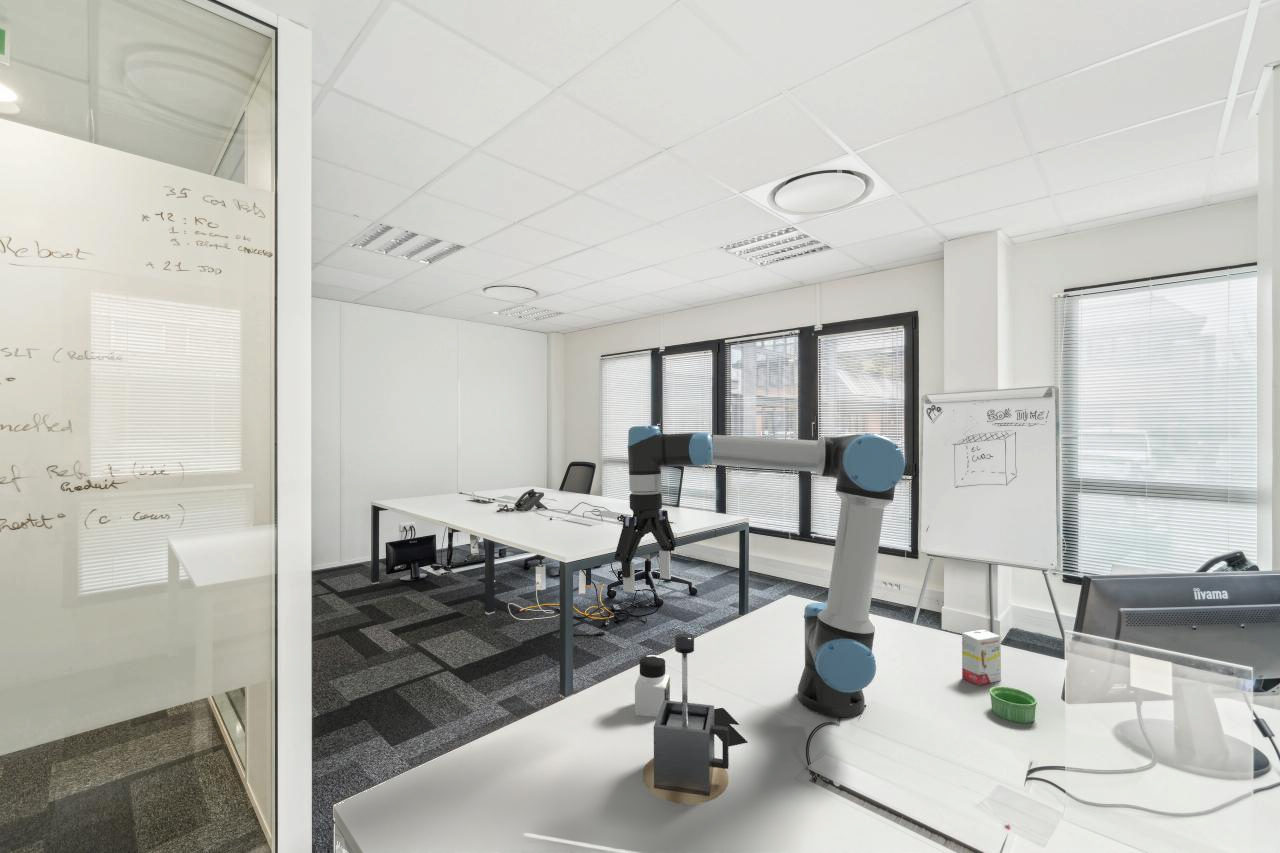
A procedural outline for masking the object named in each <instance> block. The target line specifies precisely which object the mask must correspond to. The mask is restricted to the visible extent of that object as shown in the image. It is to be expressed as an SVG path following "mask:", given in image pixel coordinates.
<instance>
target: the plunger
mask: <svg viewBox="0 0 1280 853" xmlns="http://www.w3.org/2000/svg"><path fill="white" fill-rule="evenodd" d="M674 651H675V652H677V653H679V654H681V699H682V700H681V702H682V715H677V714H670V716H669V719H668V722H667V725H666V726H673V727H682V728H690V729H698V730H703V729H704V724H705V718H704V717H695V716H688V703H689V702H688V701H689V700H688V696H689V695H688V654H691V653H694V652H695V636H694V635H693V634H690V633H678V634H676V635H675V636H674Z"/></svg>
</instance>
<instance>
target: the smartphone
mask: <svg viewBox="0 0 1280 853" xmlns="http://www.w3.org/2000/svg"><path fill="white" fill-rule="evenodd" d="M714 725H715V726H723V727H728V748H729V747H734V746H739V745H743V744H747V743H749V742H748V740H747V739H746V738H744V736H743V735H742V734H740V733H739V732H738V731H737V730H736V729H735V727H733V725H734V726H735V725H736V726H740V723H739V722H738V721H736V719H735V718H733V716H732V715H731V714H730V713H729V712H728V711H727V709H725V708H723V707H719V708H714ZM716 736H717V738H718V739H719V740H720V741H721V742H722V735H716Z"/></svg>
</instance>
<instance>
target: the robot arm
mask: <svg viewBox="0 0 1280 853" xmlns="http://www.w3.org/2000/svg"><path fill="white" fill-rule="evenodd" d="M627 435H628V436H627V437H628V439H627V440H628V441H627V455H628V478H629V480H628V481H629V482H628V483H629V485H628V486H629V491H630V492H631V493H630V494H629V496H628V498H629V509H630V510H631V511H632V516H623V517H622V518H623V520H622V529H621V532H620V535H619V540H618V542H617V546H616V549H615V550H616V551H615V553H614V558H613V559H614V561H617V562H619V563H620V565H621V576H622V581H623V584H622V586H623V588H622V589H623V592H625V593H631V594H634V593H636V585H635V584H636V581H635V577H636V576H635V574H636V573H635V562H634V561H633V558H634V556H635V554H636V553H637V550H638V547H639V545H640V542H641V540H642V538H644V537H645V535H647V534H650V533H651V534H652V535H653V537H654V539H655V541H656V542H657V543H658V545H659V547H660V549H661V550H658V551H659V552H658V553H659V555H658V558H659V578H660V579H665V580H671V579H672V573H671V572H672V570H671V569H672V566H671V563H672V552H675V550H676V549H675V548H676V546H677V541H676V538H675V535H674V532H673V530H672V526H671V524H670V520H669V515H668V510H665V509H662V508H663V496H662V495H663V494H662V492H661V491H662V490H663V488H662V487H663V486H662V485H663V483H662V467H696V468H698V467H701V466H710V465H713V466H729V467H739V468H741V467H743V468H755V469H756V468H757V469H770V470H771V469H772V470H786V471H787V470H788V471H799V472H811V473H812V472H813V473H816V474H817V475H818V477H827V478H833V479H836V484H835V493H836V494H837V495H838V497H839V498H840V501H841V503H840V508H839V509H840V510H839V515H838V516H839V518H838V523H837V529H836V536H835V537H836V538H835V545H834V551H833V552H834V553H833V559H832V565H831V566H832V567H831V572H830V573H831V574H830V581H829V586H828V594H827V601H826V602H812V603H809V604H807V605H805V606H804V613H803V619H804V668H803V671H802V673H801V674H802V675H801V678H800V679H799V683H798V686H797V700H798V701H799V704H801V705H802V706H803V707H805V709H807V710H809V711H812V712H814V713H816V714H818V715H822V716H827V717H833V718H851V717H854V716H858V715H860V714H862V713H863V712H864V710H865V708H864V706H865V701H866V700H865V695H864V692H863V689H865V688H867V687H868V686H869V685H870V684H871V683H872V682H873V680H874V678H875V676H876V672H877V664H876V659H875V655H874V653H873V644H874V638H875V632H876V628H875V625H874V624H873V623H872V622H871V620H870V610H871V603H872V596H873V589H874V582H875V576H876V575H875V574H876V570H877V569H876V568H877V562H878V560H877V559H878V554H879V548H880V547H879V546H880V540H881V532H882V527H883V526H882V525H883V519H884V514H885V513H884V511H885V508H886V507H887V506H888V505H890V504H891V503H893V502H894V498H895V490H896V486H897V484H898V483H899V482H900V481H901V479H902V477H903V475H904V473H905V468H906V467H905V466H906V462H905V457H904V454H903V451H902V450H901V448H900V447H899V446H898V444H897V443H895V442H894V441H893V440H892V439H890V438H889V437H886V436H883V435H881V434H877V433H861V434H860V433H859V434H851V435H845V436H821V437H819V438H818V439H817V440H812V439H810V440H809V439H795V438H794V439H793V438H780V437H779V438H773V437H756V436H740V435H739V436H738V435H723V434H721V435H719V434H710V433H709V432H688V433H687V432H683V433H662V431H661V428H660V427H659V425H640V426H639V425H637V426H631V427H630V428H629V429H628V434H627Z"/></svg>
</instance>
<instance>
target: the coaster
mask: <svg viewBox="0 0 1280 853" xmlns="http://www.w3.org/2000/svg"><path fill="white" fill-rule="evenodd" d="M642 779H643V780H642V781H643V783H644V785H645V786H646V788H647V789H648V791H650V792H651V793H652V794H653V795H655V796H656V797H658V798H659V799H661V800H664V801H666V802H669V803H674V804H679V805H699V804H705V803H707V802H711V801H713V800H715V799H716V798H718V797H720V796H721V795H722V794H723V793H724V792H725V791H726V789H727V787H728V785H729V781H730V780H729V773H728V771H727V769H723V768H716V767H714V770H713V776H712V783H711V790H710V796H704V795H697V794H690V793H683V792H676V791H669V790H663V789H656V788H654V757H652V758H651V759H650V760H649V761H648V762H647V763H646V764H645V766H644V767H643V772H642Z"/></svg>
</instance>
